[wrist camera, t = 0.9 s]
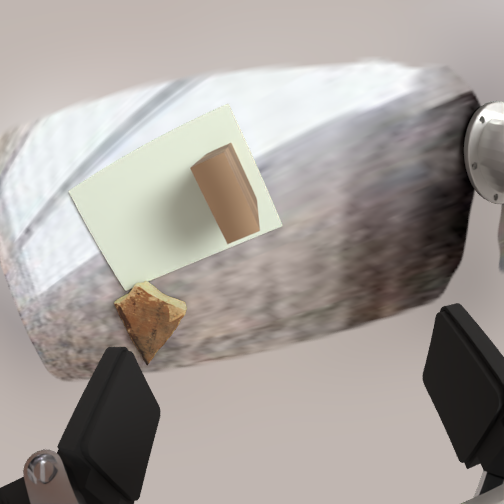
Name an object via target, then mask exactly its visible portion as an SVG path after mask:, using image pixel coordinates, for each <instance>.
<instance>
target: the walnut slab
mask: <svg viewBox="0 0 504 504" xmlns="http://www.w3.org/2000/svg"><path fill="white" fill-rule="evenodd" d="M190 169H191V171H192V173H193V175H194V177H195V179H196V181H197V183H198V185H199V187H200V190H201V192H202V194H203V196H204V198H205V200H206V202H207V204H208V206H209V208H210V210H211V212H212V214H213V216H214V218H215V220H216V222H217V224H218V226H219V228H220V230H221V232H222V234H223V236H224V238H225V240H226V242H227V244H229V243H232V242H234V241H237V240H239V239H242V238H244V237H246V236H249V235H251V234H254V233H256V232H259V231H260V225H259V215H258V204H257V198H256V196H255V194H254V191H253V189H252V187H251V185H250V182H249V180H248V178H247V176H246V174H245V171H244V169H243V167H242V165H241V163H240V160H239V158H238V156H237V154H236V152H235V149H234V147H233V145H232V143H229V144H227V145H224V146H222V147H220V148H218V149H216V150H213V151H211V152H209V153H207V154H206V155H204V156H203V157H202V158H201V159H200V160H199V161H197V162H196V163H195V164H194V165H193V166H192V167H191V168H190Z"/></svg>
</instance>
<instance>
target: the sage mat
mask: <svg viewBox="0 0 504 504" xmlns="http://www.w3.org/2000/svg"><path fill="white" fill-rule="evenodd" d="M229 143H232V145H233V147H234V149H235V152H236V154H237V156H238V158H239V160H240V163H241V165H242V167H243V169H244V171H245V174H246V176H247V178H248V180H249V182H250V185H251V187H252V189H253V191H254V194H255V196H256V198H257V204H258V215H259V225H260V231H259V232H256V233H254V234H251V235H249V236H246V237H244V238H242V239H239V240H237V241H234V242H232V243H229V244H227V242H226V240H225V238H224V236H223V234H222V232H221V230H220V228H219V226H218V224H217V222H216V220H215V218H214V216H213V214H212V212H211V210H210V208H209V206H208V204H207V202H206V200H205V198H204V196H203V194H202V192H201V190H200V187H199V185H198V183H197V181H196V179H195V177H194V175H193V173H192V171H191V169H190V168H191V167H192V166H193V165H194V164H195V163H196V162H197V161H199V160H200V159H201V158H202V157H203V156H204V155H206V154H207V153H209V152H211V151H213V150H216V149H218V148H220V147H222V146H224V145H227V144H229ZM69 193H70V195H71V197H72V199H73V201H74V203H75V205H76V207H77V209H78V211H79V212H80V214H81V216H82V218H83V220H84V222H85V224H86V225H87V227H88V229H89V231H90V233H91V234H92V236H93V238H94V240H95V241H96V243H97V245H98V247H99V248H100V250H101V252H102V253H103V255H104V257H105V259H106V260H107V262H108V264H109V265H110V267H111V268H112V270H113V272H114V273H115V275H116V277H117V278H118V280H119V281H120V283H121V285H122V286H123V288H124V289H125V291H127V290H129V289H131V288H133V287H134V286H135V284H136V283H141V282H145V281H150V280H153V279H155V278H158V277H160V276H162V275H165V274H167V273H170V272H172V271H174V270H177V269H179V268H182V267H184V266H186V265H189V264H191V263H194V262H196V261H198V260H201V259H203V258H206V257H208V256H210V255H213V254H215V253H218V252H220V251H223V250H225V249H227V248H230V247H232V246H235V245H237V244H240V243H242V242H245V241H247V240H249V239H252V238H254V237H257V236H259V235H262V234H264V233H267V232H269V231H272V230H274V229H277V228H279V227H281V226H282V223H281V220H280V218H279V216H278V213H277V211H276V209H275V206H274V204H273V202H272V199H271V197H270V195H269V192H268V190H267V188H266V186H265V183H264V181H263V179H262V176H261V174H260V172H259V170H258V167H257V165H256V163H255V161H254V158H253V156H252V154H251V152H250V149H249V147H248V145H247V143H246V140H245V138H244V136H243V134H242V132H241V129H240V127H239V125H238V123H237V121H236V119H235V116H234V114H233V112H232V110H231V108H230V106H229V104H226V105H224V106H222V107H219V108H217V109H215V110H213V111H211V112H208V113H206V114H204V115H202V116H200V117H198V118H196V119H194V120H191V121H189V122H187V123H185V124H183V125H181V126H179V127H177V128H175V129H173V130H171V131H169V132H168V133H166V134H164V135H162V136H160V137H158V138H156V139H154V140H152V141H151V142H149V143H147V144H145V145H143V146H141V147H140V148H138V149H136V150H134V151H133V152H131V153H129V154H127V155H126V156H124V157H122V158H120V159H119V160H117V161H115V162H114V163H112V164H110V165H109V166H107V167H105V168H104V169H102V170H101V171H99V172H97V173H96V174H94V175H93V176H91V177H89V178H88V179H86V180H85V181H83V182H82V183H80V184H79V185H77V186H76V187H74V188H73V189H71V190H70V191H69Z"/></svg>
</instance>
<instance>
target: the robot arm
mask: <svg viewBox="0 0 504 504" xmlns="http://www.w3.org/2000/svg"><path fill="white" fill-rule="evenodd" d="M464 160H465V166H466V171H467V174H468V177H469V180H470V182H471V184H472V186H473V187H474V189H475V190H476V192H477V193H478V194H479V195H480V196H482V197H483V198H484V199H486V200H488V201H490V202H492V203H495V204H504V102H494V101H493V102H489V103H486V104H484V105H483V106H481V107H480V108H479V109H478V110H477V111H476V112H475V113H474V115H473V117H472V118H471V120H470V122H469V125H468V128H467V131H466V136H465V143H464ZM423 382H424V385H425V387H426V389H427V391H428V393H429V395H430V397H431V399H432V402H433V403H434V406H435V408H436V410H437V412H438V414H439V416H440V418H441V421H442V423H443V425H444V427H445V429H446V432H447V434H448V436H449V438H450V440H451V443H452V445H453V448H454V450H455V452H456V454H457V457H458V459H459V461H460V462H462V463H465V465H466V468H467V469H469V468H471V467H473V466H475V465H478V464H480V463H481V465H482V467H483V473H482V476H481V479H480V482H479V485H478V488H477V490H476V493H475V496H474V498H473V499H470V500H468V501H466V502H464V503H461V504H504V357H503V355H502V354H501V353H500V352H499V350H498V349H497V348H496V346H495V345H494V344H493V343H492V341H491V340H490V339H489V338H488V336H487V335H486V334H485V333H484V331H483V330H482V329H481V328H480V327H479V325H478V324H477V323H476V322H475V321H474V320H473V318H472V317H471V316H470V315H469V314H468V312H467V311H466V310H465V309H464V308H463V307H462V305H460V304H458V303H457V304H452V305H449V306H444V307H442V308H441V310H440V312H439V313H437V315H436V318H435V324H434V329H433V334H432V338H431V343H430V347H429V351H428V356H427V360H426V364H425V368H424V372H423ZM159 419H160V407H159V405H158V403H157V401H156V399H155V397H154V395H153V393H152V391H151V389H150V387H149V385H148V383H147V381H146V379H145V377H144V375H143V373H142V371H141V369H140V367H139V365H138V363H137V361H136V358H135V356H134V354H133V353H132V352H131V351H128V349H127V348H126V347H109V348H107V349H106V351H105V353H104V354H103V356H102V358H101V360H100V362H99V364H98V366H97V367H96V369H95V371H94V373H93V375H92V377H91V379H90V381H89V383H88V385H87V387H86V389H85V390H84V392H83V394H82V397H81V398H80V400H79V402H78V404H77V407H76V408H75V411H74V413H73V415H72V417H71V419H70V421H69V423H68V425H67V428H66V429H65V431H64V434H63V436H62V438H61V440H60V442H59V444H58V448H59V450H58V452H57V453H56V452H54V451H51V450H41V451H37V452H36V453H34V454H32V455H31V456H30V457H29V459H28V460H27V461H26V463H25V466H24V470H23V473H24V477H22V478H20V479H18V480H16V481H14V482H12V483H10V484H8V485H5V486H3V487H1V488H0V504H134V501H135V500H138V499H139V497H140V493H141V489H142V485H143V481H144V477H145V473H146V468H147V465H148V460H149V456H150V453H151V449H152V445H153V441H154V438H155V434H156V430H157V426H158V423H159Z"/></svg>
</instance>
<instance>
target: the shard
mask: <svg viewBox="0 0 504 504" xmlns="http://www.w3.org/2000/svg"><path fill="white" fill-rule="evenodd" d="M114 304H115V306H116V309H117V311H118V313H119V316H120V318H121V319H122V320H123V323H124V326H125V327H126V329H127V331H128V334H129V336H130V337H131V339H132V341H133V343H134V344H135V346H136V347H137V349H138V350H139V352H140V353H141V355H142V357H143V360H144V361H145V363H146V365H148V364H149V362H150V361H151V360H152V358H153V357H154V355H155V353H156V352H157V351H158V350H159V349H160V348H161V347H162V346H163V345H164V344H165V342H166V341H167V339H168V338H169V337H170V336H171V335H172V334H173V331H174V330H176V328H177V326H178V325H179V323H180V320H181V319H182V318H183V317H184V315H185V313H186V310H187V307H186V303H185V302H183V301H181V300H178V299H175V298H172V297H169V296H167V295H165V294H163V293H161V292H160V291H159V290H158V289H156V288H155V287H154V286H153V285H151V284H150V283H149V282H148V281H145V282H141V283H136V284H135V286H134V287H133V288H132V290H131V291H130V292H129V293H128V294H126V295H124V296H123V297H121V298H119V299H117V300H116V301H115V302H114Z"/></svg>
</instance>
